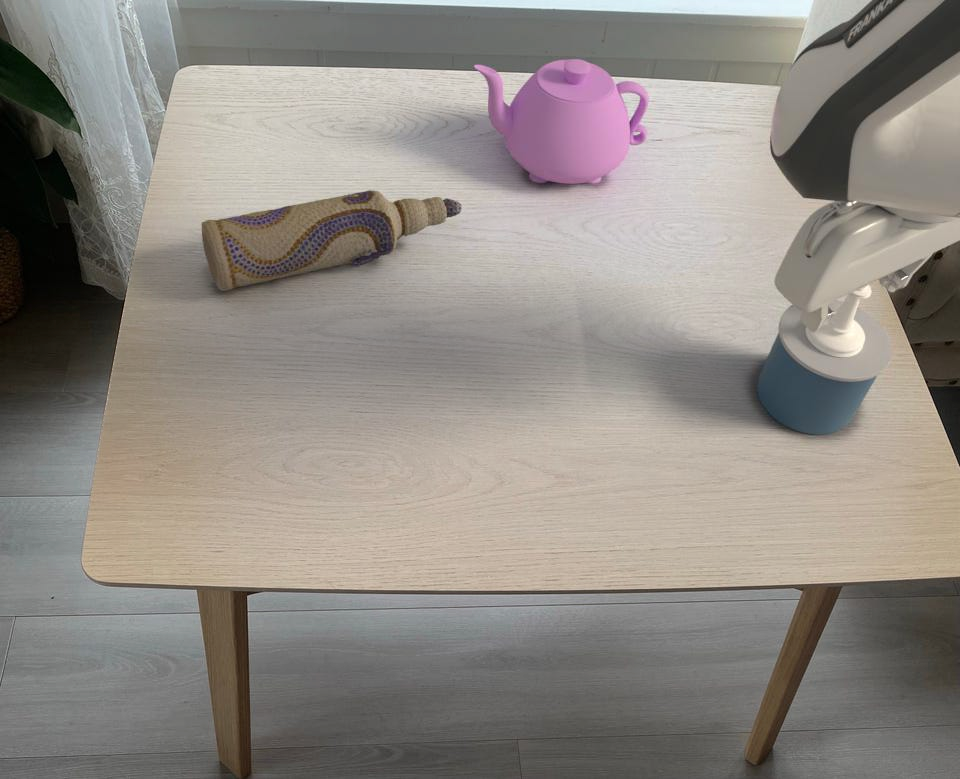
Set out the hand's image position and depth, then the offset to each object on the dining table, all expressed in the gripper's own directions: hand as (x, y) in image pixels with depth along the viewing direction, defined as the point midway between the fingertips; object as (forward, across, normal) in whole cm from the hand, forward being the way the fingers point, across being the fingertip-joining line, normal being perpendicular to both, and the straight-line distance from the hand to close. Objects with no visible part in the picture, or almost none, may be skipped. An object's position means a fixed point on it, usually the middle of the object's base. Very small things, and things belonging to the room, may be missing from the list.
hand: (852, 304), depth 79 cm
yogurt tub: (+12, 0, 0) cm, 12 cm away
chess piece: (+4, 0, 0) cm, 4 cm away
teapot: (+12, 0, +40) cm, 42 cm away
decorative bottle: (+12, -30, +37) cm, 49 cm away
